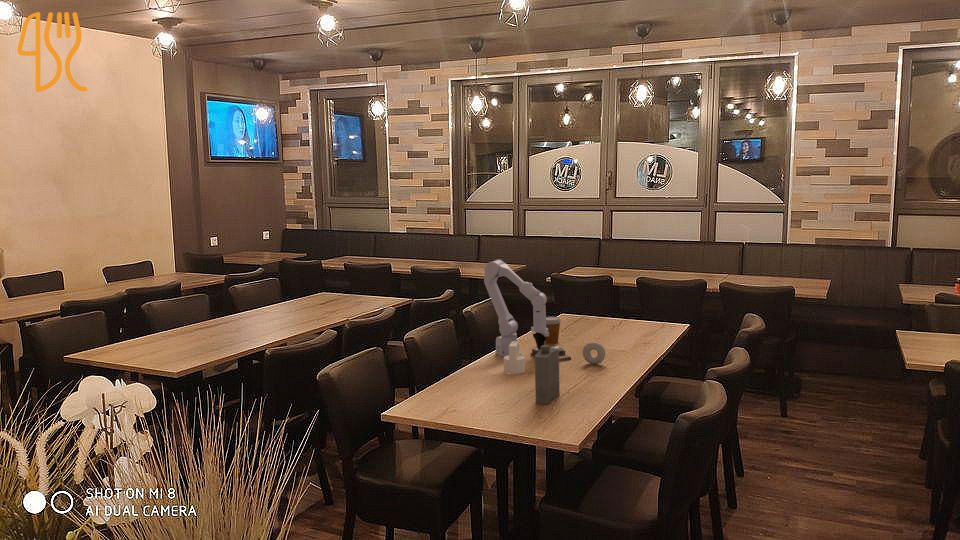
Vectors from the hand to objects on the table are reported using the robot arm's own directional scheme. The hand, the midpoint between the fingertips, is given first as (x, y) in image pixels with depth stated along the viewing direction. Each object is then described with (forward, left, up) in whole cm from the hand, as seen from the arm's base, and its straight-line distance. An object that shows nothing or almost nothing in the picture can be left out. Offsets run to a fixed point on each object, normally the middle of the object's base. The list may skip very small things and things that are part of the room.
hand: (540, 349), depth 332 cm
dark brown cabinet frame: (+3, -5, -3) cm, 6 cm away
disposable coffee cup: (+17, +22, -3) cm, 28 cm away
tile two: (+6, -4, -1) cm, 8 cm away
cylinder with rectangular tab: (-21, -18, -4) cm, 28 cm away
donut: (+14, -24, -3) cm, 28 cm away
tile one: (0, 0, -2) cm, 2 cm away
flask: (-26, -58, -4) cm, 64 cm away
